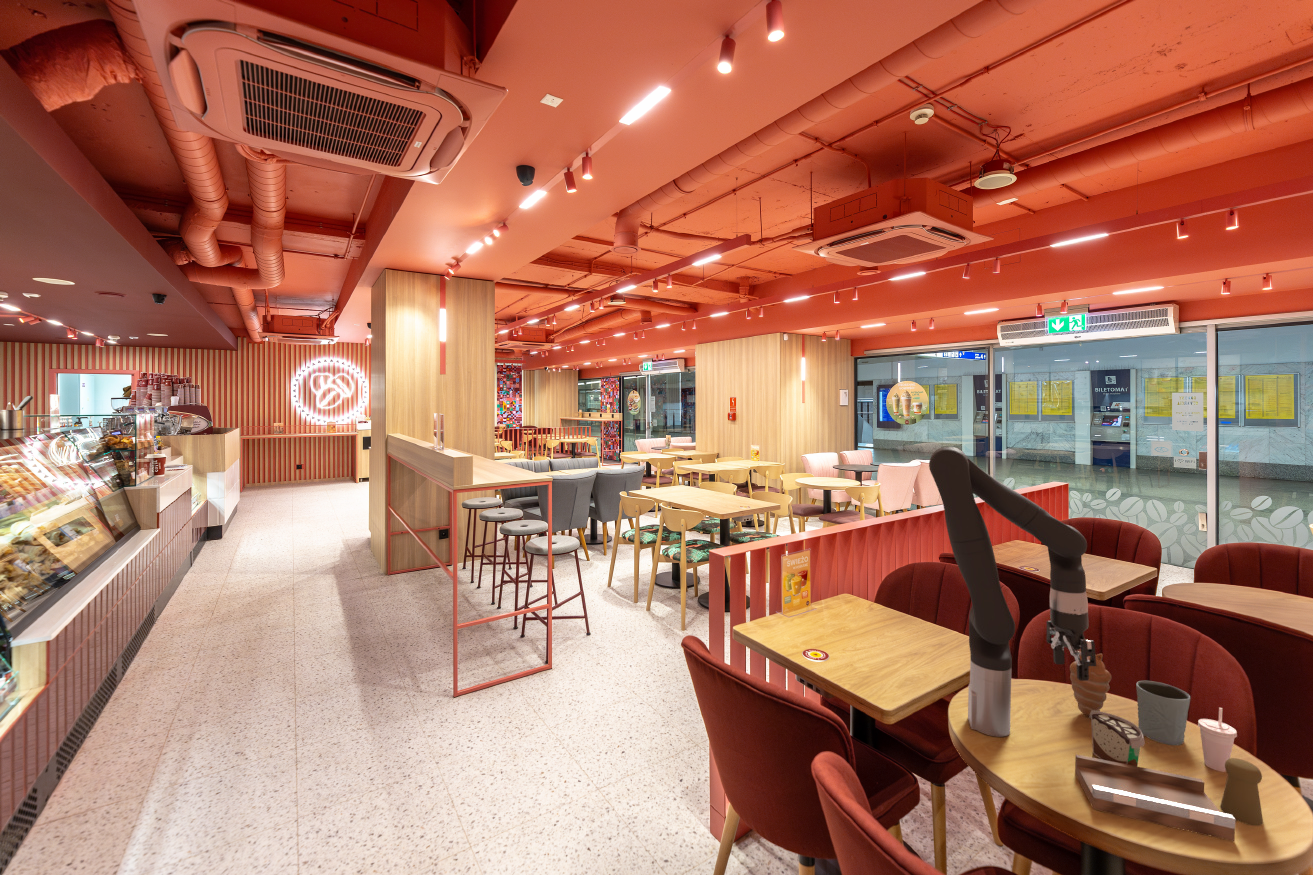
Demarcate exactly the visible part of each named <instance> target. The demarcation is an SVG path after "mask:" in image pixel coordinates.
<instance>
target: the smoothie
mask: <svg viewBox="0 0 1313 875" xmlns="http://www.w3.org/2000/svg"><path fill="white" fill-rule="evenodd" d="M1197 722H1198V723H1197V726H1198V728H1199V729H1200V730H1199V731H1200V739H1201V740H1200V741H1201V746H1202V747H1201V748H1202V754H1203V762H1204V765H1205V766H1207V767H1208V768H1210V769H1212V770H1214V771H1218V772H1223V773H1224V772H1226V769H1225V762H1226V761H1227V760H1228V759H1230V758H1231V754H1232V750H1233V747H1234V741H1235V738H1238V734H1237V733H1238V732H1237V730H1236V728H1234V727H1232V726H1230V725H1229V724H1227V723H1225V722H1223V707H1218V720H1214V719H1210V718H1209V719H1208V718H1200V719H1198V721H1197Z"/></svg>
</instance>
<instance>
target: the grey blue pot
mask: <svg viewBox="0 0 1313 875" xmlns="http://www.w3.org/2000/svg"><path fill="white" fill-rule="evenodd" d="M1135 687H1136V696H1137V698H1136V700H1137V701H1136V702H1137V715H1138V716H1137V717H1138V722H1137V723H1138V726H1137V727H1138V728H1139V729H1140V730H1141V732H1142V734H1143V737H1145V738H1148V739H1150V740H1152V741H1154V742H1157V743H1161V744H1165V745H1167V746H1168V745H1169V746H1181V744H1182V745H1183V743H1184V742H1185V732H1186V729H1187V720H1188V715H1189V714H1188V712H1189V709H1190V703H1191V695H1190V694H1189V693H1188V692H1186V691H1184V690H1182V689H1180V688H1179V687H1175V686H1174V685H1173V686H1172V685H1170V684H1168V683H1167V684H1166V683H1163V682H1160V681H1159V682H1158V681H1152V680H1139V681H1137V682H1136V685H1135Z"/></svg>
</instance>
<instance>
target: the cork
mask: <svg viewBox="0 0 1313 875" xmlns="http://www.w3.org/2000/svg"><path fill="white" fill-rule="evenodd" d="M1225 769H1226V771H1225V772H1226V773H1227V778H1226V781H1225V785H1224V789H1223V794H1222V798H1221V800H1220V806H1219V807H1220V811H1221V812H1222V813H1227V814H1231V815H1233V817H1234V818H1235V821H1237V822H1240V823H1243V824H1246V825H1250V826H1259V827H1260V826H1262V825H1263V824H1264V819H1263V818H1264V817H1263V813H1262V812H1263V810H1262V804H1261V798H1260V791H1259V784H1260V783H1261V781H1262V779H1263V775H1262V771H1261V770H1260V769H1259V767H1257V766H1256V765H1255V764H1253V763H1251V762H1249V761H1248V760H1244V759H1242V758H1241V759H1240V758H1235V757H1230V759H1228V760H1227V761H1226V762H1225Z"/></svg>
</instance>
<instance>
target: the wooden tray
mask: <svg viewBox="0 0 1313 875" xmlns="http://www.w3.org/2000/svg"><path fill="white" fill-rule="evenodd" d="M1074 760H1075V762H1074V767H1075V768H1074V774H1075V776H1076V778H1077V780H1078V782H1079V783H1080V785H1081V788H1082V789H1083V792H1084V794H1085V796H1086V797H1087V799H1088V801H1089V803H1090V805H1091V807H1092V809H1093V810H1094V809H1095V811H1099V812H1104V813H1109V814H1112V815H1117V816H1121V817H1126V818H1130V819H1135V820H1138V821H1143V822H1147V823H1151V824H1152V823H1153V824H1155V825H1156V824H1157V825H1160V826H1164V827H1169V826H1170V827H1169V828H1173V827H1174V828H1173V829H1178V828H1179V830H1182V829H1184V830H1183V831H1186V830H1189V831H1188V832H1191V831H1192V833H1195V832H1197V833H1196V834H1201V835H1204V834H1205V836H1208V835H1211V836H1210V837H1214V838H1218V839H1220V840H1221V839H1222V840H1227V841H1231V842H1235V836H1236V835H1235V834H1236V820H1235V818H1234V817H1233V815H1231V814H1227V813H1224V812H1223V811H1221V809H1219V808H1218V806H1216V805H1215V803H1214V802H1213V801H1212V799H1211V798H1210V797H1209V796H1208V794H1207V793H1206V792H1205V782H1204V781H1203V779H1202V778H1196V777H1193V776H1192V777H1191V776H1186V775H1182V774H1177V773H1172V772H1166V771H1162V770H1158V769H1157V770H1156V769H1151V768H1147V767H1146V768H1145V767H1141V766H1138V765H1137V766H1132V765H1127V764H1122V763H1117V762H1112V761H1107V760H1102V759H1100V758H1096V757H1093V756H1092V757H1091V756H1086V755H1080V754H1075V758H1074Z"/></svg>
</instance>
